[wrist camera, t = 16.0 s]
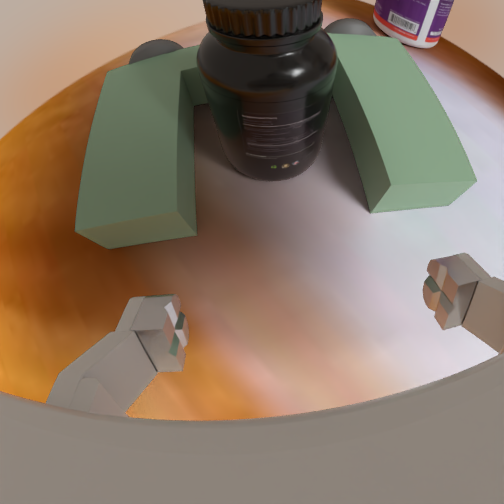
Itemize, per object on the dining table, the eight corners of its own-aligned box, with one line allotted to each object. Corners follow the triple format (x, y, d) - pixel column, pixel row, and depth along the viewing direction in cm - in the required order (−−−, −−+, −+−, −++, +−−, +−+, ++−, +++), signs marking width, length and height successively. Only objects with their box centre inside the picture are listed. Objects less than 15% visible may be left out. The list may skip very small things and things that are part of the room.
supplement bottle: (215, 119, 20) (174, -20, 9) (302, 101, 20) (310, -38, 9) (233, 197, 19) (182, 38, 7) (334, 174, 18) (381, 17, 7)
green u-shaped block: (382, 62, 21) (394, 23, 16) (448, 205, 17) (485, 173, 12) (127, 92, 22) (105, 56, 18) (108, 249, 18) (64, 225, 14)
